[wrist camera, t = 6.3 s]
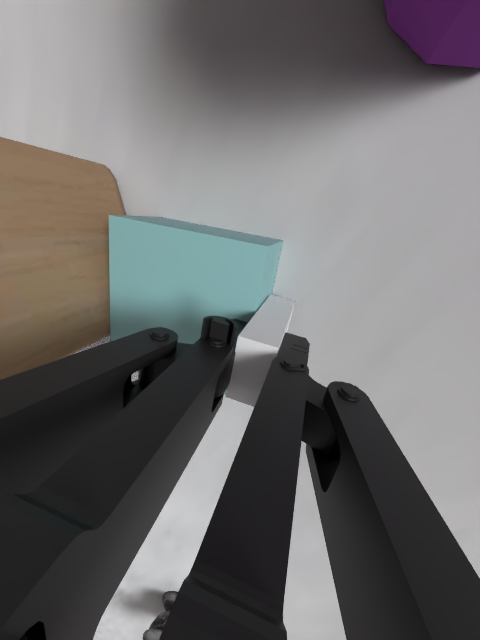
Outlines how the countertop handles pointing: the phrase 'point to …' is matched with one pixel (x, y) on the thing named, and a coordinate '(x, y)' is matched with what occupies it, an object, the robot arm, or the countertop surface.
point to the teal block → (184, 275)
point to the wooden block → (52, 254)
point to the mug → (438, 29)
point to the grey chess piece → (161, 617)
